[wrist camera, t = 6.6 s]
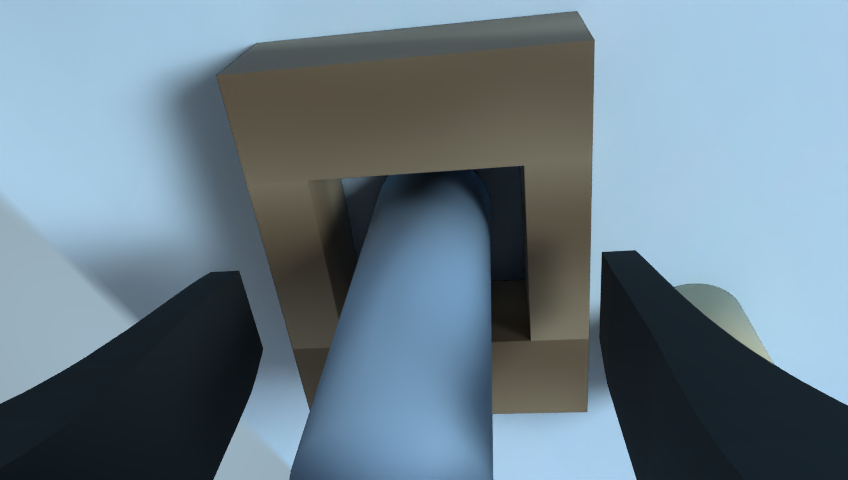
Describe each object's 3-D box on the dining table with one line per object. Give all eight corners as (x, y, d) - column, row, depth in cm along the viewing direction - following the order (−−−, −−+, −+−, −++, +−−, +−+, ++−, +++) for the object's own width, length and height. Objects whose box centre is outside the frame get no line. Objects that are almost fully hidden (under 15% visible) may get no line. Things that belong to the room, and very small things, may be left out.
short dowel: (736, 364, 18) (796, 484, 14) (632, 367, 18) (666, 485, 15) (750, 281, 16) (820, 392, 13) (637, 286, 17) (676, 395, 13)
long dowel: (492, 252, 17) (498, 560, 9) (386, 257, 17) (311, 557, 10) (486, 152, 15) (486, 422, 8) (370, 159, 16) (268, 425, 8)
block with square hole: (575, 345, 18) (587, 411, 16) (331, 353, 19) (311, 417, 17) (577, 11, 13) (594, 40, 11) (256, 43, 14) (216, 75, 12)
